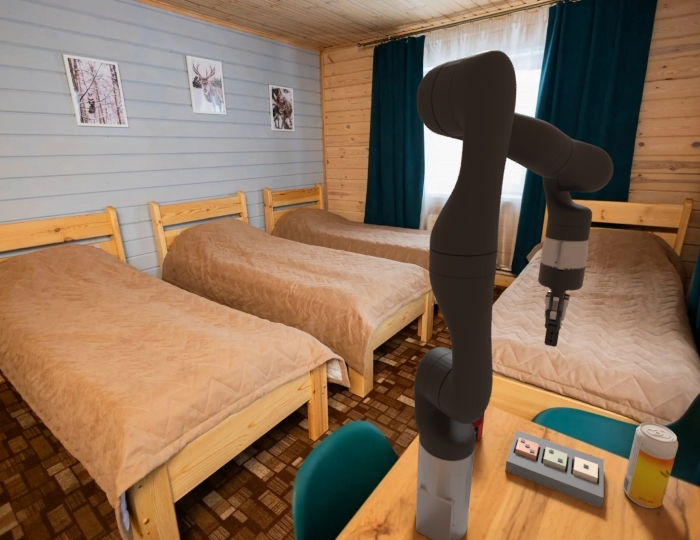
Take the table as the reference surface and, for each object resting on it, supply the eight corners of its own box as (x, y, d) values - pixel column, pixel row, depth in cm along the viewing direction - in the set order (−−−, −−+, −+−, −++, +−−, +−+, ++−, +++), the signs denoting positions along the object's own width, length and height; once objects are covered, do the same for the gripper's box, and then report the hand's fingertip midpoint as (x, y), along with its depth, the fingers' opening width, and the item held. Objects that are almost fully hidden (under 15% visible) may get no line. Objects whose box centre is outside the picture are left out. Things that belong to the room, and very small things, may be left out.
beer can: (668, 513, 70) (687, 445, 66) (631, 508, 71) (647, 441, 67) (650, 486, 75) (667, 422, 71) (616, 481, 77) (630, 418, 72)
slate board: (601, 508, 71) (603, 497, 70) (505, 470, 80) (506, 460, 79) (601, 469, 80) (603, 459, 79) (515, 438, 89) (516, 429, 88)
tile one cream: (595, 489, 74) (597, 477, 73) (571, 480, 76) (574, 468, 75) (595, 475, 77) (598, 463, 76) (573, 467, 79) (575, 455, 79)
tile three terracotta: (534, 466, 80) (536, 455, 79) (514, 459, 82) (515, 447, 81) (537, 454, 83) (539, 443, 82) (517, 447, 85) (519, 436, 84)
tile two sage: (563, 477, 77) (565, 465, 76) (542, 469, 79) (543, 457, 78) (565, 464, 80) (567, 453, 79) (544, 457, 82) (546, 445, 81)
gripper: (545, 251, 79) (535, 328, 84) (535, 267, 68) (524, 353, 73) (587, 256, 75) (574, 336, 80) (584, 273, 64) (569, 364, 69)
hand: (550, 344), depth 76 cm, fingers closed
